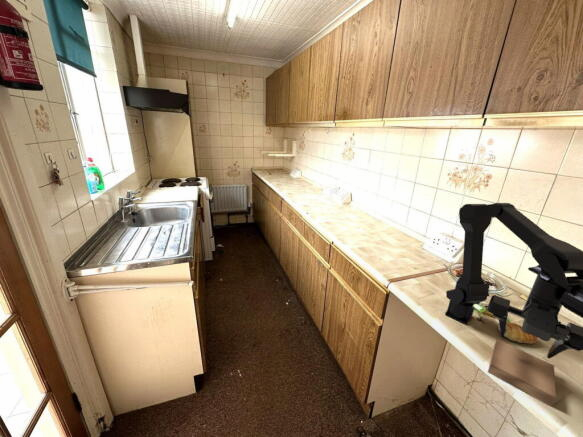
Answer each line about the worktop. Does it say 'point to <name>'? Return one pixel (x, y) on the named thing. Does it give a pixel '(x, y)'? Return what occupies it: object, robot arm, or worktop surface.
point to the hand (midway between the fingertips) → (524, 346)
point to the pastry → (517, 333)
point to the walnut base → (523, 371)
